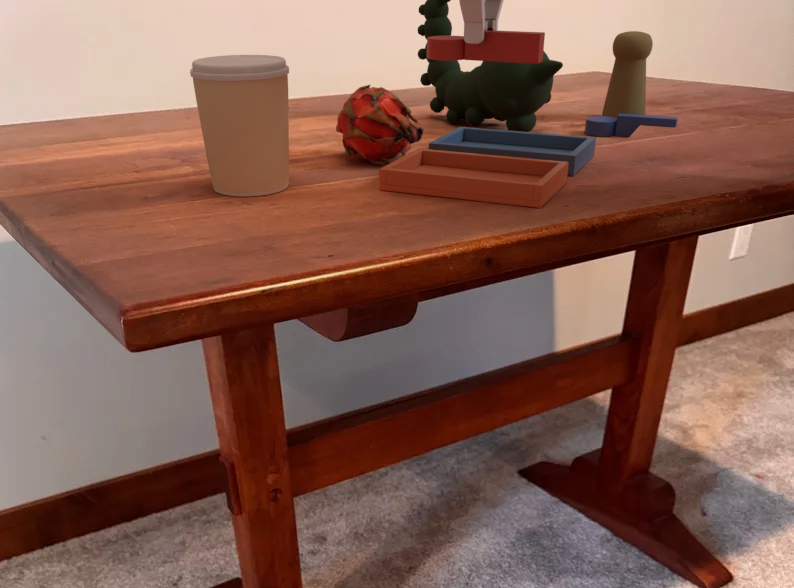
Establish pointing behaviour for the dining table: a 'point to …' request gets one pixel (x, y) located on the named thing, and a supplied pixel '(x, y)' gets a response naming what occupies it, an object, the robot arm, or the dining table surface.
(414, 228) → the dining table surface
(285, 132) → the coffee cup
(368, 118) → the dragon fruit
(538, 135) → the blue tray
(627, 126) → the blue spoon
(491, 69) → the toy figurine
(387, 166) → the red tray
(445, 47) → the red spoon
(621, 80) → the olive knobbed cone
